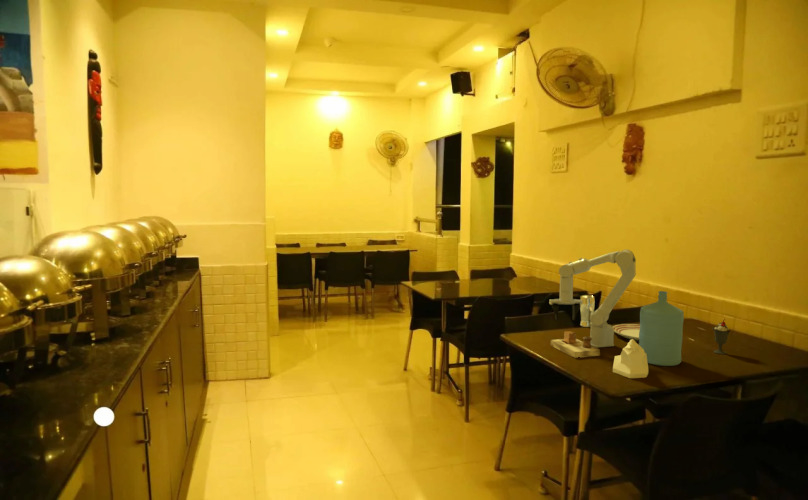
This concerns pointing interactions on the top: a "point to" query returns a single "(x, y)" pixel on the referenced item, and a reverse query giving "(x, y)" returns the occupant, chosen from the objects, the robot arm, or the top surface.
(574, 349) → the board
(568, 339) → the brown wooden block
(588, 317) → the beer glass
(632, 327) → the dinner plate
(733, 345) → the top surface
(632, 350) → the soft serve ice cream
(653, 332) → the water jug
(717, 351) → the sundae
